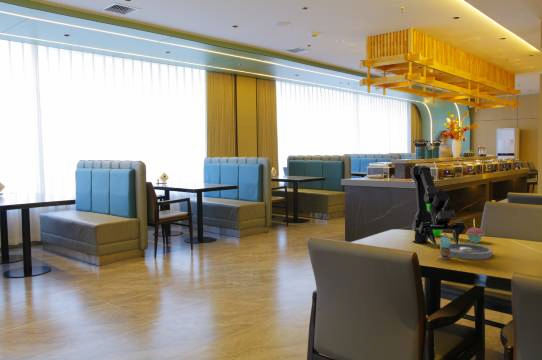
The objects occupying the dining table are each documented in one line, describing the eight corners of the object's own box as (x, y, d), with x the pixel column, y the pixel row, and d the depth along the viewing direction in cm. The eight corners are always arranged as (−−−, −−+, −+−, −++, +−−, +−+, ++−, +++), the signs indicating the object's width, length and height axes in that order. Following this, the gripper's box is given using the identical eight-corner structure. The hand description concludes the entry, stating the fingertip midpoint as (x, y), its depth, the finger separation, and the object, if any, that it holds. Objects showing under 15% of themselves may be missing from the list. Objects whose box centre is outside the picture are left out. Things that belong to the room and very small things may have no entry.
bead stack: (443, 256, 199) (443, 232, 198) (453, 259, 195) (454, 234, 194) (435, 258, 196) (436, 233, 196) (446, 260, 192) (447, 235, 191)
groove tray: (458, 246, 219) (458, 241, 219) (501, 254, 202) (501, 249, 201) (430, 252, 207) (431, 246, 207) (473, 261, 190) (473, 255, 190)
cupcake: (463, 240, 234) (463, 217, 234) (479, 239, 234) (480, 216, 234) (470, 243, 226) (471, 219, 225) (487, 243, 226) (488, 219, 225)
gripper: (421, 203, 198) (429, 233, 188) (464, 203, 198) (474, 233, 187) (415, 218, 206) (422, 248, 196) (457, 218, 206) (466, 248, 196)
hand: (446, 244), depth 194 cm, fingers open, 9 cm apart
